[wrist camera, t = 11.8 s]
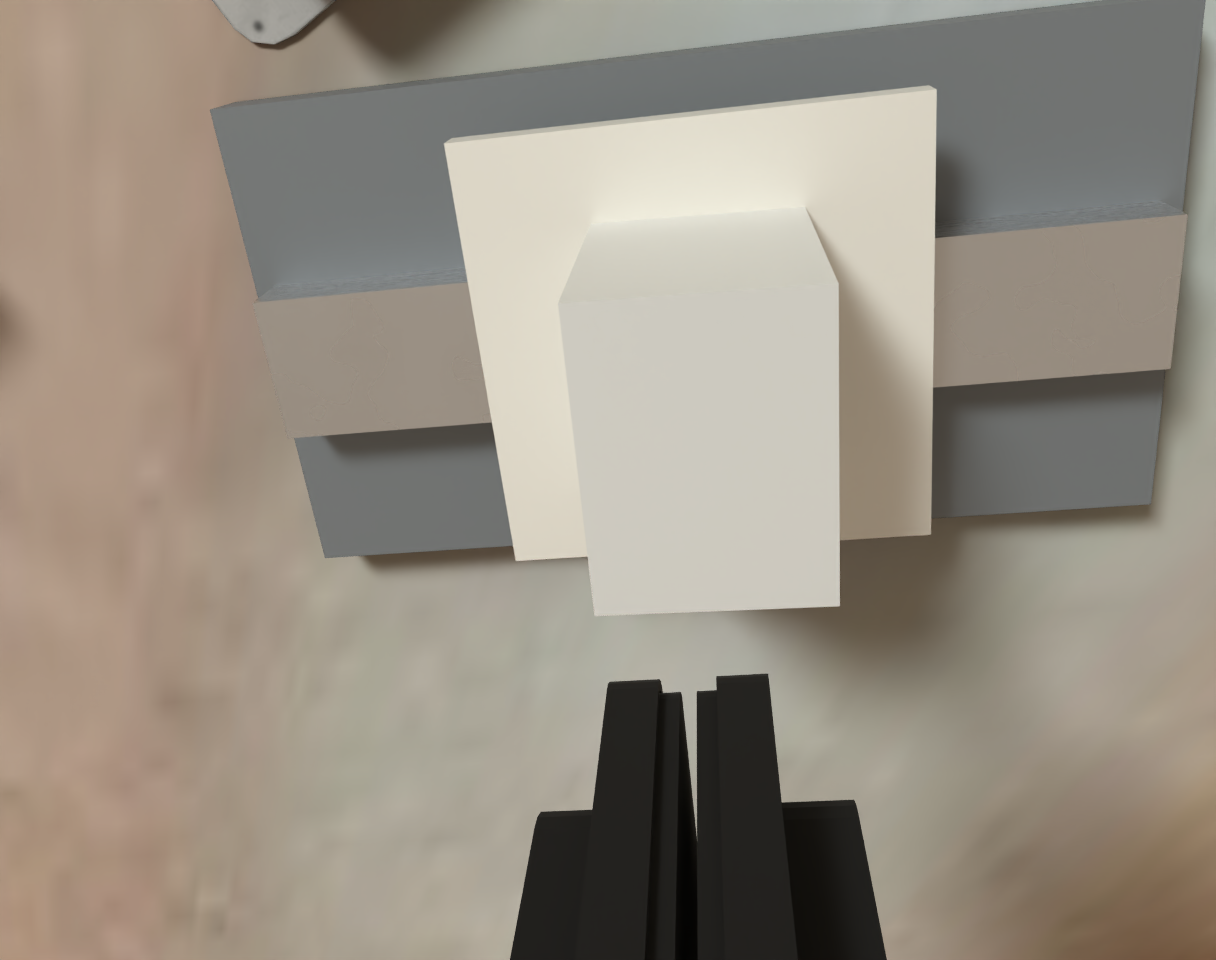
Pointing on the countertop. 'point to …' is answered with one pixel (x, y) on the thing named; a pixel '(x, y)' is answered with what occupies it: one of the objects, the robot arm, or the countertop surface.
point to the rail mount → (720, 78)
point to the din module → (706, 412)
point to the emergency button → (270, 17)
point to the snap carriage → (700, 185)
